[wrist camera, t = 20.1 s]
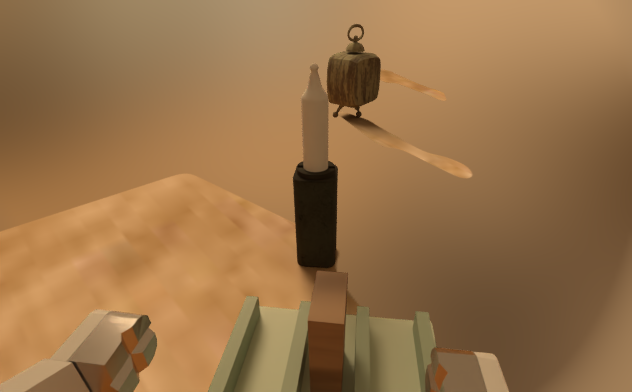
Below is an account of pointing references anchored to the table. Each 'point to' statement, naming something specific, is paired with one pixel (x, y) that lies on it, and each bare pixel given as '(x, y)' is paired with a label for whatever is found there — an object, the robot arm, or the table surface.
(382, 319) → the rack
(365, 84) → the tabletop clock
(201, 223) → the table surface
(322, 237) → the candle
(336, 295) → the block
